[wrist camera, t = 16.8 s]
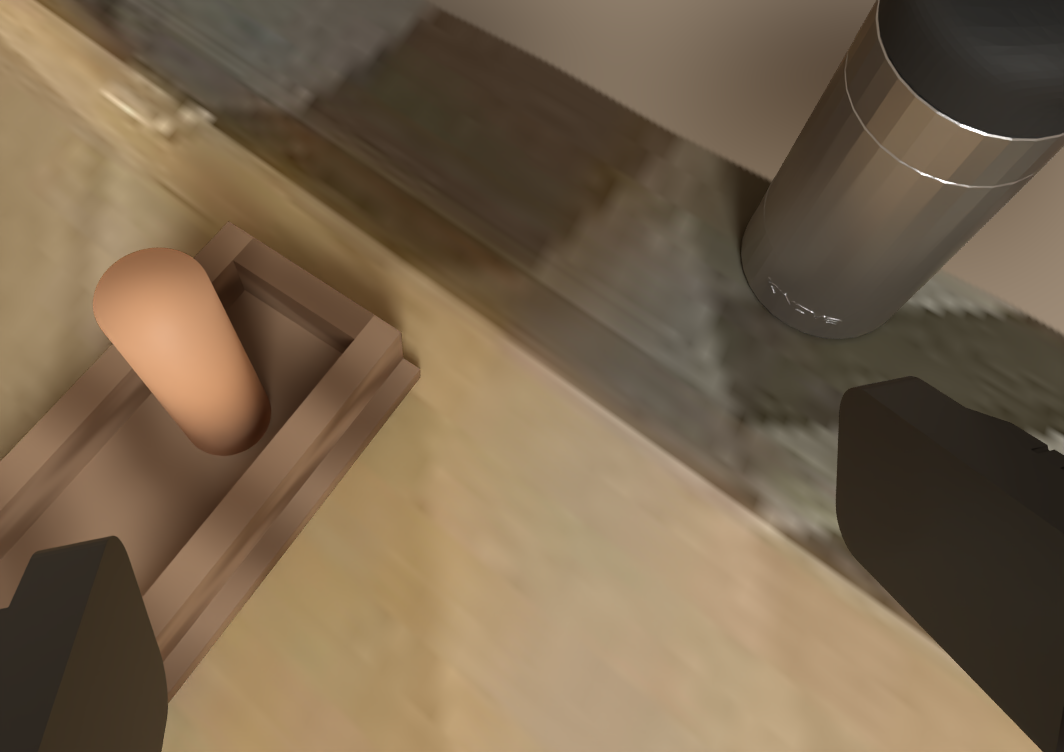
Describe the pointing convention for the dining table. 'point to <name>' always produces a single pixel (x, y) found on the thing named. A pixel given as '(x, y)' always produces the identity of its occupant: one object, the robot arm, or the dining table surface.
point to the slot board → (196, 476)
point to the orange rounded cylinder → (183, 348)
